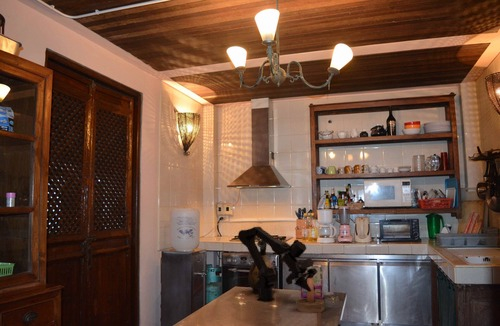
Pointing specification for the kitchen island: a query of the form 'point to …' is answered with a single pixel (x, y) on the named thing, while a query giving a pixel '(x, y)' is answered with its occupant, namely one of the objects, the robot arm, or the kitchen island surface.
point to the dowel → (311, 294)
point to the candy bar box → (315, 283)
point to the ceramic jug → (254, 271)
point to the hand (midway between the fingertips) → (312, 290)
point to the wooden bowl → (310, 306)
